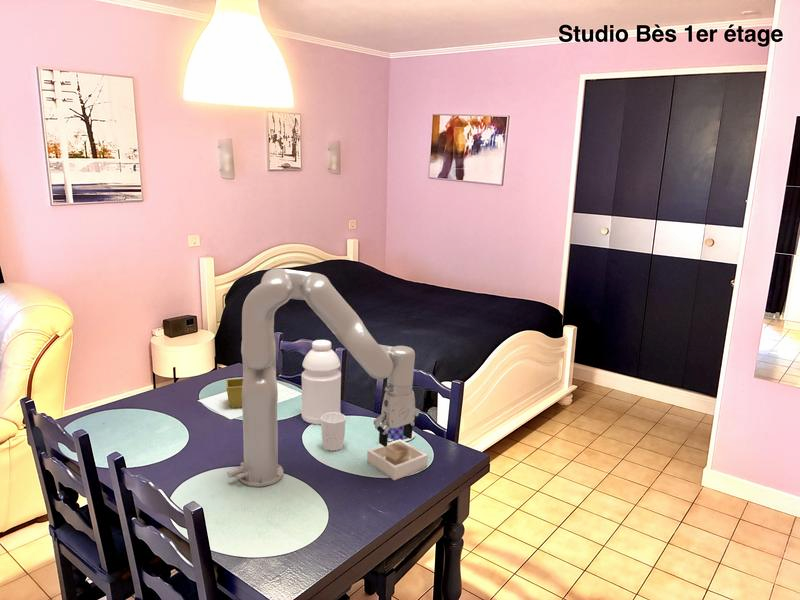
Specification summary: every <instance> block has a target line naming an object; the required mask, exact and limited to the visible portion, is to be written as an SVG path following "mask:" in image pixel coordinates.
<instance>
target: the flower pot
mask: <svg viewBox="0 0 800 600" xmlns="http://www.w3.org/2000/svg"><path fill="white" fill-rule="evenodd" d="M242 383H243V377H241V378H240V377H239V378H229V379H226V380H225V384H226V385H225V386H226V393H227V400H228V403H229V405H230V407H233V408H232V409H236V408H235V407H238V408H242Z"/></svg>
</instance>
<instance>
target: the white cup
mask: <svg viewBox="0 0 800 600" xmlns="http://www.w3.org/2000/svg"><path fill="white" fill-rule="evenodd" d="M346 418H347V417H346V415H345V414H343V413H335V412H332V413H326V414H324V415H322V416H321V424H320V426H321V430H320V431H321V440H322V448H323V449H324V450H326V451H329V450H330V452H331V451H332V450H333V451H334V452H335V450H336V451H340V450H342V449H343V448H344V445H345V437H346V436H345V434H346V420H347V419H346ZM341 448H342V449H341ZM339 449H340V450H339ZM333 451H332V452H333Z"/></svg>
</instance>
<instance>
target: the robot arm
mask: <svg viewBox="0 0 800 600" xmlns="http://www.w3.org/2000/svg"><path fill="white" fill-rule="evenodd" d="M291 299H292V300H300V301H301V300H302V301H305V302H306V304H307V306H309V307H310V308H311V310H313V312H314V313H315V314H316V316H318V317H319V318H320V320H321V321H322V322H323V323H324V324H325V325H326V326H327V328H328V329H329V330H330V331H331V332H332V334H334V335H335V337H336V339H338V341H339V342H340V343H341V344H342V346H343V347H345V348H346V350H348V352H349V353H350V354H351V356H352V357H353V358H354V359H355V360H356V361H357V362H358V364H359V365H360V366H361V367H362V368H363V370H365V372H366V373H367V374H368V375H369V376H370V377H371V378H373V379H375V380H384V379H387V380H386V381H387V382H386V386H385V388H384V391H385V392H384V395H383V396H384V397H383V401H382V405H381V414H380V415H378V416H377V417H376V418H375V419H374V420H373V423H372V424H373V426H374V428H375V429H376V430H377V432H379V433H378V434H379V435H378V436H379V437H378V444H380V446H382V445H383V446H384V447H386V446H387V444H388V442H389V441H388V439H389V438H388V434H386V433H387V432H388V430H389V428H396V427H400V426H403V425H404V434H403V435H404V436H406V437H407V439H408V438H409V439H411V438H412V430H413V427H414V426H415V423H416V421H417V420H418V416H419V414H420V412H421V410H420V409H418V408H417V407H416V398H415V391H414V390H413V382H414V372H415V371H414V370H415V359H416V353H415V350H414V349H413V348H412V347H410V346H405V345H395V346H391V345H383V344H379V343H378V342H377V341H376V339H374V337H373V336H372V334H371V333H370V332H369V330H368V329H367V328H366V326H365V324H364V323H363V320H362V319H361V318H360V317H359V315H358V314H357V312H356V311H355V310H354V309H353V308H352V306H350V305H349V303H348V302H347V301H346V300H345V298H343V296H342V295H341V294H340V293H339V292H338V291H337V290H336V288H335V286H333V284H332V283H331V281H330V280H329V278H328V277H327V276H326V275H324V274H323V273H322V274H321V273H318V272H311V271H302V270H294V269H288V268H272V269H269V270H267V271H266V272H265V273H264V274H263V276H262V277H261V280H260V283H259V284H258V285H256V286H255V287H254V288H253V289H251V291H250V292H249V293H248V294H247V296H246V298H245V300H244V302H243V305H242V308H241V309H242V311H241V339H242V340H241V346H240V347H241V349H240V353H241V359H242V378H243V383H242V407H241V408H242V429H243V432H242V434H243V437H242V438H243V439H242V441H243V461H242V462H240V466H238V467H237V468H236V469H231V470H229V471H227V476H228V478H229V479H232V478H234V477H235V478H236V480H239V481H240V482H241V483H242V484H244V485H246V486H249V487H256V488H258V487H259V488H260V487H266V486H271V485H273V484H276V483H277V482H280V480H281V479H283V476H284V468H283V467H282V465H280V464H279V463H278V462H279V458H278V457H279V455H278V452H279V451H278V446H279V444H278V441H279V439H278V435H279V434H278V431H279V430H278V400H279V398H278V397H279V396H278V395H279V394H278V391H279V390H278V381H277V367H276V366H277V364H276V363H277V361H276V360H277V359H276V358H277V357H276V352H277V346H276V345H277V344H276V338H275V328H274V327H275V314H276V312H277V310H278V309H279V308H281V306H283V305H285V304H286V303H288V302H289V300H291ZM384 428H385V429H384ZM411 440H412V439H411Z"/></svg>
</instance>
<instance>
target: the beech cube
mask: <svg viewBox="0 0 800 600" xmlns="http://www.w3.org/2000/svg"><path fill="white" fill-rule="evenodd" d="M386 460H387V461H389V462H390V463H392V464H394V465H398V464H401V463H403V462H406V461H408V460H409V448H408V447H406V446H404V445H403V444H401V443H399V442H398V443H395V444H392V445H389V446H386Z"/></svg>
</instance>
